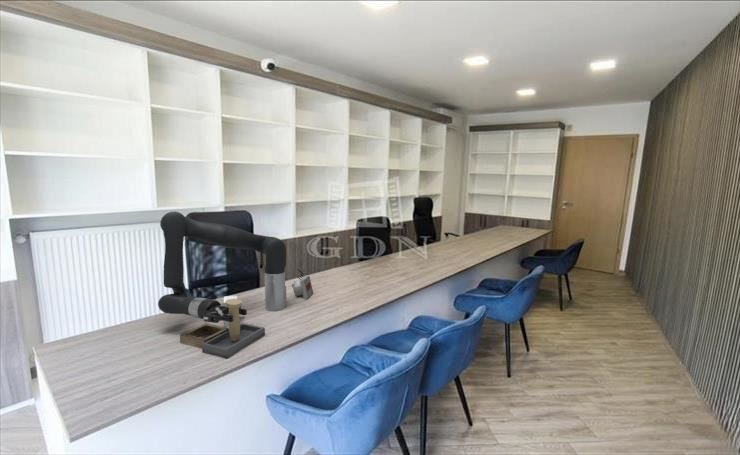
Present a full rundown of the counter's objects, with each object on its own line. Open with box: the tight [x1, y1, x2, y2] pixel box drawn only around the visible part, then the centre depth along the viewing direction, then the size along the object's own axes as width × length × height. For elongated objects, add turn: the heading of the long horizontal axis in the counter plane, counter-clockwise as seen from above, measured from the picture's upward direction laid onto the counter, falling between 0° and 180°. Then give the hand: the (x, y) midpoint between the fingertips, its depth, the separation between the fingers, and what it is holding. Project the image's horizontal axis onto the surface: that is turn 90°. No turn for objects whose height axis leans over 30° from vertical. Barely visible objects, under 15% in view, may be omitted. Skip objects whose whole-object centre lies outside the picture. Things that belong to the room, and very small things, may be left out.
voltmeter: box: [291, 269, 314, 300], centre depth 191 cm, size 27×11×10 cm, turn 27°
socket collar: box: [179, 322, 229, 349], centre depth 134 cm, size 12×12×3 cm
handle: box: [226, 298, 243, 342], centre depth 130 cm, size 5×6×15 cm
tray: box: [201, 322, 266, 359], centre depth 131 cm, size 20×11×3 cm, turn 158°
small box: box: [222, 295, 239, 328], centre depth 149 cm, size 8×6×10 cm
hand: (239, 315), depth 129 cm, fingers open, 6 cm apart
